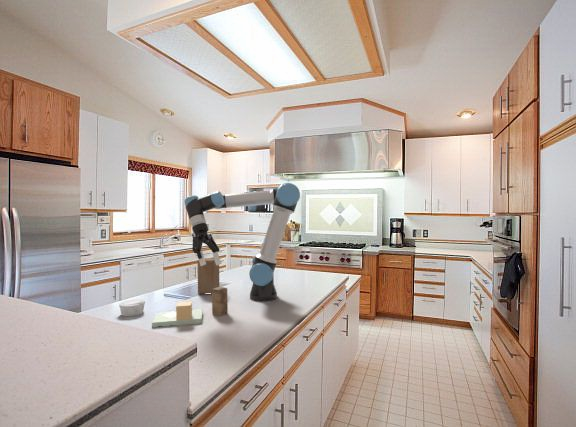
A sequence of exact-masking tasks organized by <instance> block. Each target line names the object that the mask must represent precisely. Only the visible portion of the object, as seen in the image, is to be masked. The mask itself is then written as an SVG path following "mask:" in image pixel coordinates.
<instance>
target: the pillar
mask: <svg viewBox="0 0 576 427" xmlns="http://www.w3.org/2000/svg"><path fill="white" fill-rule="evenodd" d="M211 302H212V303H211V306H212V307H211V313H212V314H213V316H217V317H222V316H224V315H227V314H228V313H229V312H228V311H229V310H228V307H229V306H228V287H223V286H219V287H217V288H214V289H212V295H211ZM212 314H211V315H212Z"/></svg>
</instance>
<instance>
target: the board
mask: <svg viewBox="0 0 576 427" xmlns="http://www.w3.org/2000/svg"><path fill="white" fill-rule="evenodd" d="M203 312H204V309H203V308H202V309H201V308H200V309H199V308H198V309H192V317H191V319H188V320H176V310H175V311H173V310H172V311H162V312H161V311H160V312H157V313H156V315H155V317H154V319H153V320H152V322H151V327H152V328H159V327H158V326H163V327H170V326H169V325H173V326H172V327H174V325H175V326H183V325H196V324H198V325H199V324H202V322H203V321H202V320H203V315H204V314H203Z"/></svg>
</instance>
